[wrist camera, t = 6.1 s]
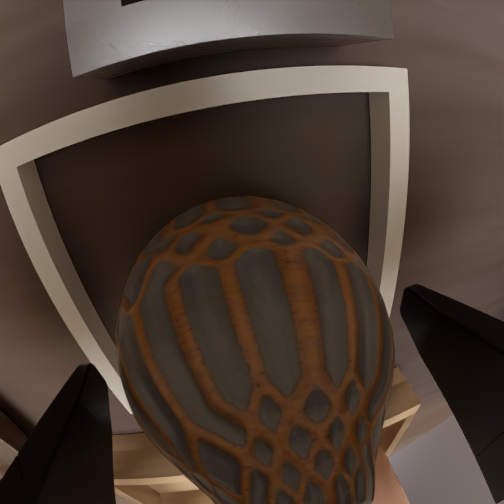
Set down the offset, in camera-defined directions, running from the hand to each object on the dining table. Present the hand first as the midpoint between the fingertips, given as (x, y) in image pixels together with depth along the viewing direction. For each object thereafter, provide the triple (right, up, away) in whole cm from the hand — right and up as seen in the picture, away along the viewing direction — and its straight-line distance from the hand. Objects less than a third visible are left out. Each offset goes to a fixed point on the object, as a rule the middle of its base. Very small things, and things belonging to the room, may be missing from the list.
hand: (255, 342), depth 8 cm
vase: (-1, +2, +3) cm, 4 cm away
